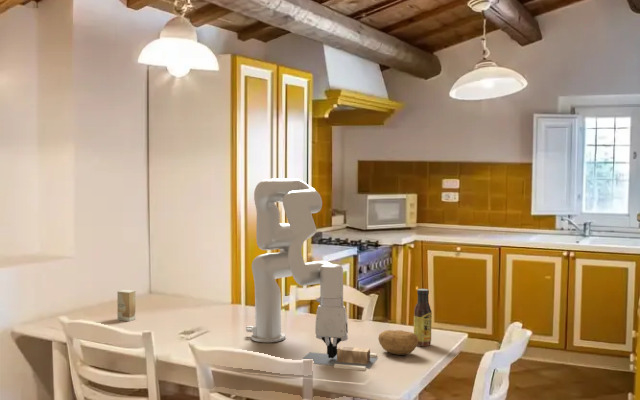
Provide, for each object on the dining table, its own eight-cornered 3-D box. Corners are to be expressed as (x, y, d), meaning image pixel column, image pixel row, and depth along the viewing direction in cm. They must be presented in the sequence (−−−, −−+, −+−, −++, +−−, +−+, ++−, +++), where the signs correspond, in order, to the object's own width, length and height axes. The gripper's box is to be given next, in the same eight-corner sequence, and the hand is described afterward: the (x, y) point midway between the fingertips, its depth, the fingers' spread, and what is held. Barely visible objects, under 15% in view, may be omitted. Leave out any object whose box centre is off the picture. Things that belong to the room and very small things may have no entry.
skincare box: (117, 320, 292) (116, 291, 291) (123, 318, 296) (123, 289, 295) (129, 321, 289) (129, 292, 288) (136, 319, 293) (135, 290, 292)
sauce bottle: (427, 348, 247) (427, 292, 245) (410, 345, 250) (410, 290, 249) (434, 343, 252) (434, 288, 251) (418, 341, 256) (418, 287, 254)
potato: (385, 347, 248) (385, 325, 247) (422, 353, 240) (422, 330, 240) (372, 354, 239) (372, 331, 239) (410, 360, 232) (411, 336, 231)
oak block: (337, 349, 230) (367, 352, 227) (340, 346, 233) (370, 348, 230) (337, 361, 230) (367, 364, 227) (340, 358, 234) (370, 360, 231)
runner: (295, 365, 228) (295, 361, 228) (311, 351, 243) (311, 348, 243) (367, 371, 220) (367, 368, 220) (379, 357, 236) (379, 353, 236)
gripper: (306, 303, 230) (306, 358, 231) (350, 305, 225) (350, 362, 226) (313, 298, 237) (314, 352, 238) (356, 301, 232) (356, 355, 234)
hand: (332, 356), depth 232 cm, fingers closed
